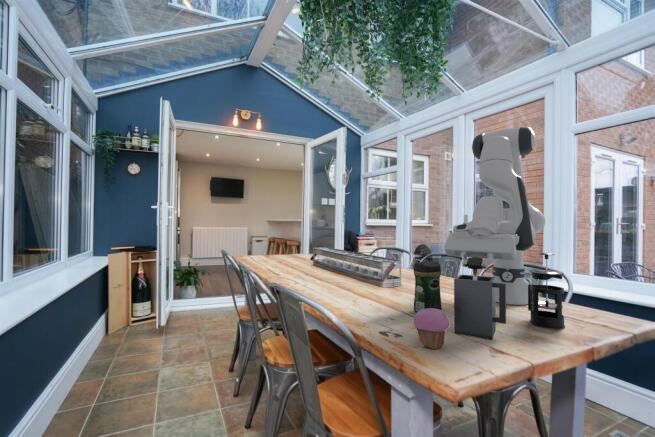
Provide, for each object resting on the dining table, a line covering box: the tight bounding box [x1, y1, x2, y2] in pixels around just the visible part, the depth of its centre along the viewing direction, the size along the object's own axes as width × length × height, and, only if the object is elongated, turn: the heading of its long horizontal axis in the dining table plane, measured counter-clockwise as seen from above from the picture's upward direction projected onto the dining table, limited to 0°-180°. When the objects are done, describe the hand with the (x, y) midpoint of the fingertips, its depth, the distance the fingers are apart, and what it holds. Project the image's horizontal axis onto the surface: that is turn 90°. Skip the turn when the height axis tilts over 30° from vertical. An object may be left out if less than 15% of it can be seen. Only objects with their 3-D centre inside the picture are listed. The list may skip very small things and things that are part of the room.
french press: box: [527, 252, 566, 330], centre depth 103 cm, size 12×9×23 cm
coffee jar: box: [413, 260, 443, 313], centre depth 117 cm, size 10×8×19 cm
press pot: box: [453, 273, 507, 341], centre depth 95 cm, size 10×13×16 cm
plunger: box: [467, 257, 484, 280], centre depth 95 cm, size 8×8×16 cm
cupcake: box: [413, 308, 450, 350], centre depth 84 cm, size 9×9×10 cm
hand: (474, 266), depth 95 cm, fingers closed on plunger, 4 cm apart
